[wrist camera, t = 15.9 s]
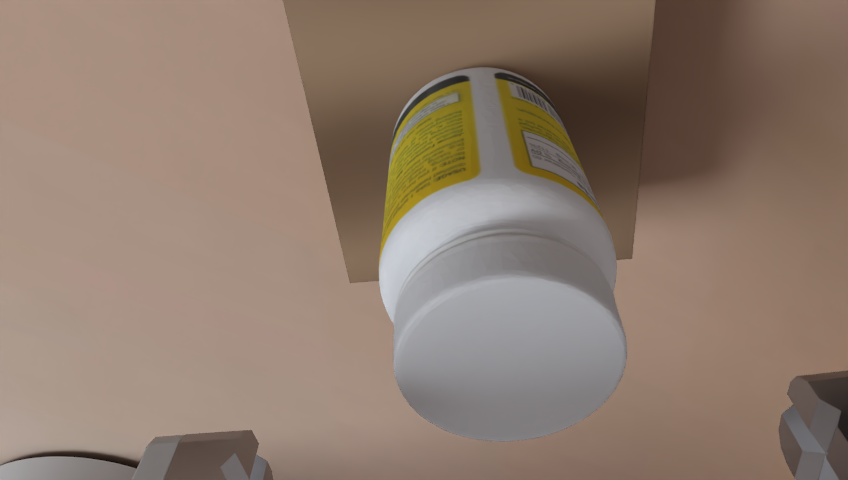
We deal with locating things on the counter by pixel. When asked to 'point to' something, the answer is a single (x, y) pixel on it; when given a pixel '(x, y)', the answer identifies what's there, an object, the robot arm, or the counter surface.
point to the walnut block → (462, 49)
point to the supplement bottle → (496, 263)
